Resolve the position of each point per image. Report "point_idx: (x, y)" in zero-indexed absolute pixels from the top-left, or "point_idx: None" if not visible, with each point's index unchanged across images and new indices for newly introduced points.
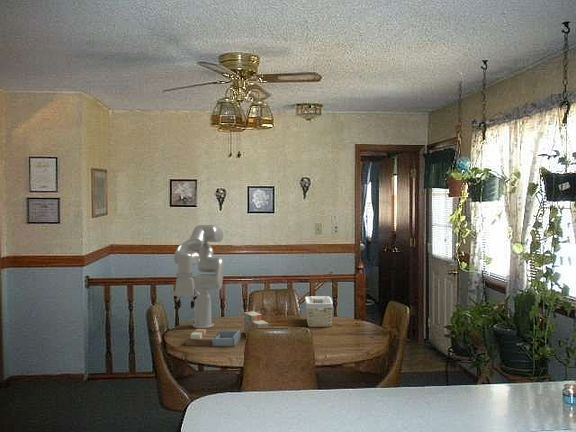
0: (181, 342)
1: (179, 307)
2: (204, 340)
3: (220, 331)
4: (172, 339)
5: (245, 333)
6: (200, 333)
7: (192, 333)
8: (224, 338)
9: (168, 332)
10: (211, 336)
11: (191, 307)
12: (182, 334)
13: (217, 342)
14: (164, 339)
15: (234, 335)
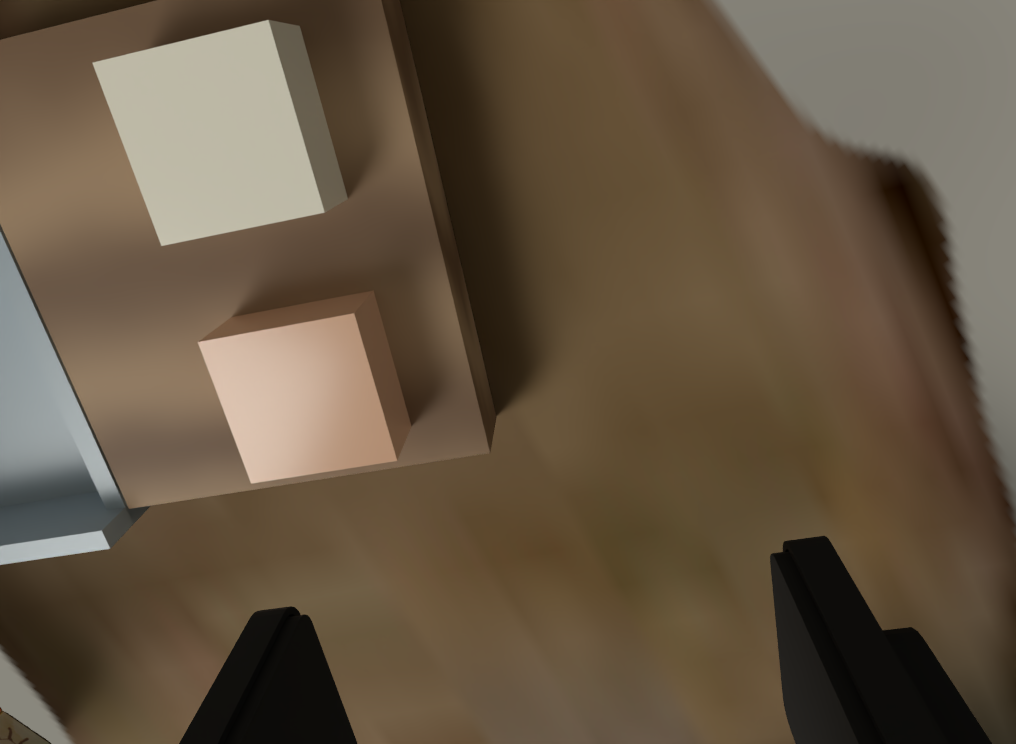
0: (547, 127)
1: (777, 582)
2: (38, 32)
3: (89, 531)
4: (772, 264)
5: (20, 724)
6: (135, 152)
7: (277, 107)
8: (47, 440)
9: (985, 602)
10: (85, 296)
11: (262, 625)
12: (740, 549)
13: None
14: (904, 232)
15: None
